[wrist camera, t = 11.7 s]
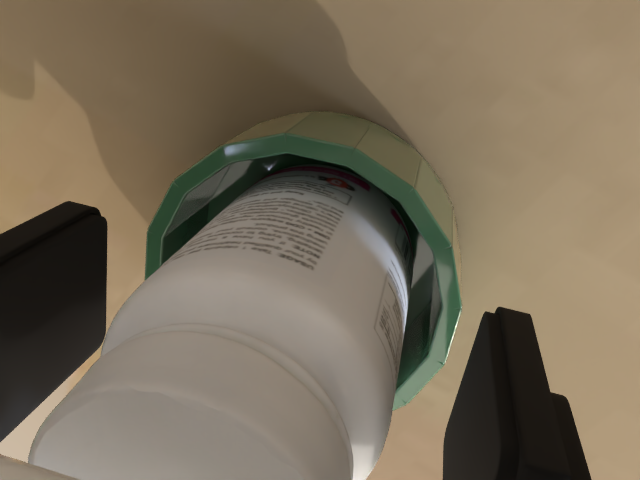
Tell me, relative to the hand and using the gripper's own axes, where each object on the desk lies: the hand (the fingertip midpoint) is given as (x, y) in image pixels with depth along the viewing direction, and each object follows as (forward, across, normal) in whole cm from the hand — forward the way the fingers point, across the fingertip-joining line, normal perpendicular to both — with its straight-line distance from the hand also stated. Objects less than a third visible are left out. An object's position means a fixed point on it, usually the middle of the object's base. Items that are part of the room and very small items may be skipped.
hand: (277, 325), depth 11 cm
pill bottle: (+4, 0, 0) cm, 4 cm away
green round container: (+4, 0, 0) cm, 4 cm away
